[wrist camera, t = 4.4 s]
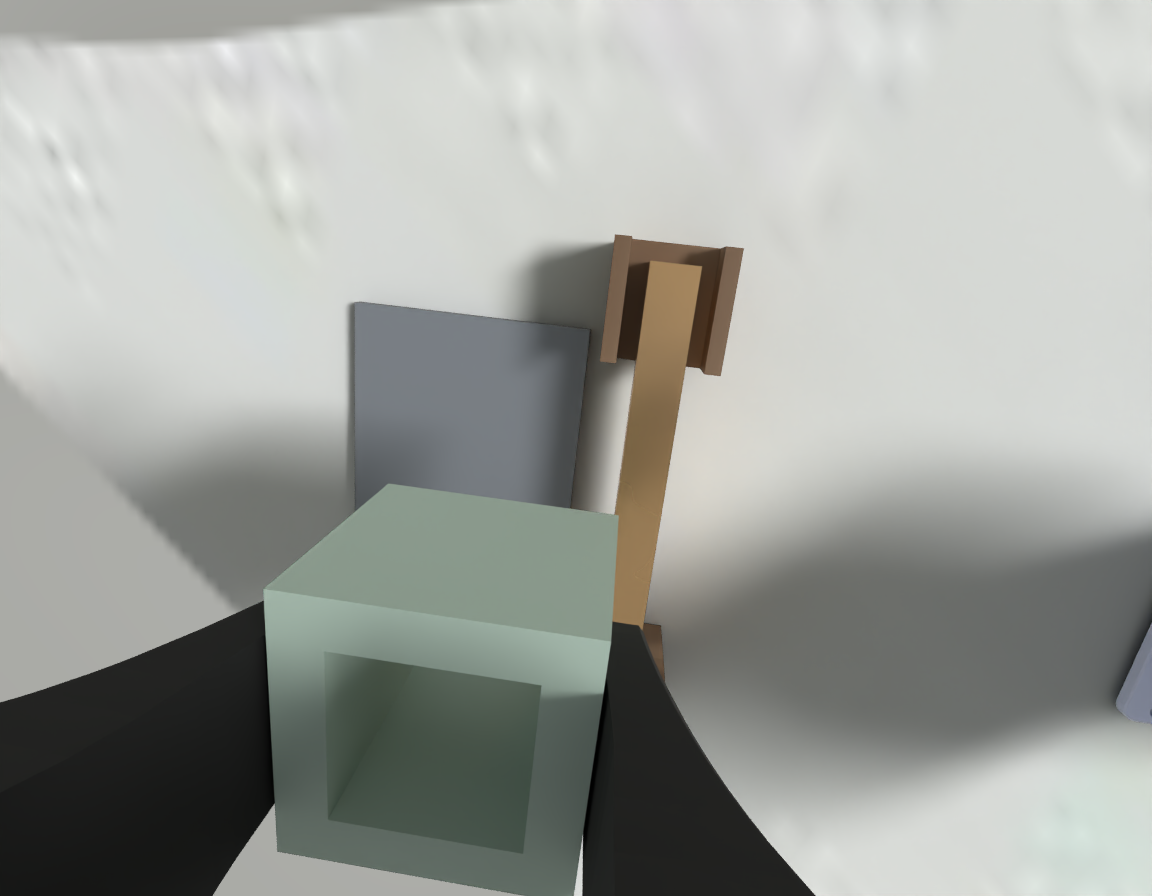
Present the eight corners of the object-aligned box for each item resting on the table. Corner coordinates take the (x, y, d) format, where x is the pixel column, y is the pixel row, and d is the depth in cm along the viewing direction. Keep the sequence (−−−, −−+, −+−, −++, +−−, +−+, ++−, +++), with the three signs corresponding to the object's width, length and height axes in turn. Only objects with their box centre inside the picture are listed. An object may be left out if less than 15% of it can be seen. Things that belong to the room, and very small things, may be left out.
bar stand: (725, 253, 16) (743, 248, 13) (648, 699, 20) (650, 762, 18) (618, 241, 16) (615, 234, 14) (563, 685, 21) (553, 746, 18)
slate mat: (590, 329, 17) (589, 330, 17) (557, 622, 20) (555, 629, 20) (360, 301, 18) (354, 302, 17) (360, 593, 20) (355, 599, 20)
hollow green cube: (618, 515, 11) (610, 641, 7) (591, 710, 12) (572, 904, 8) (388, 483, 11) (263, 589, 7) (385, 677, 13) (277, 851, 9)
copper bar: (697, 267, 15) (701, 266, 13) (623, 720, 19) (622, 749, 18) (649, 262, 15) (650, 260, 14) (586, 714, 19) (583, 743, 18)
